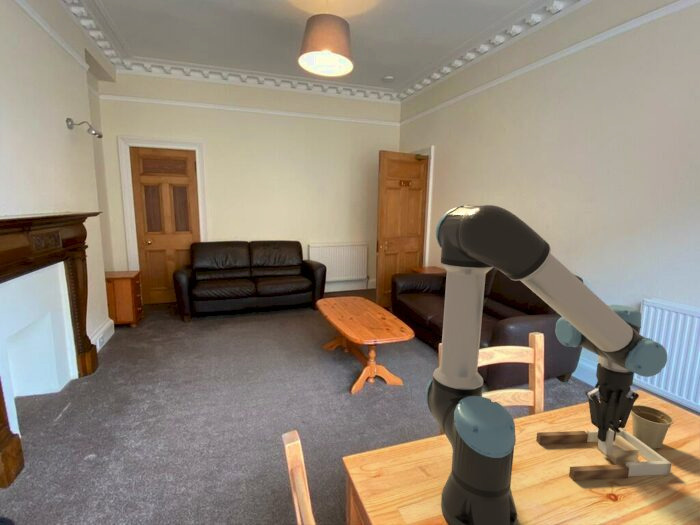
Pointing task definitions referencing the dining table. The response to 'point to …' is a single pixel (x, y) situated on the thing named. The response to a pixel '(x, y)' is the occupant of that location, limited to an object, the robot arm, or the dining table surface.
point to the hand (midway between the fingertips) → (604, 451)
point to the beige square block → (622, 451)
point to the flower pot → (650, 425)
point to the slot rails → (583, 471)
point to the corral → (655, 461)
